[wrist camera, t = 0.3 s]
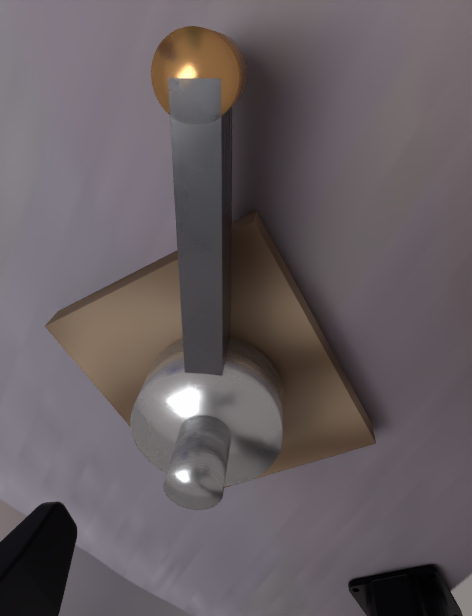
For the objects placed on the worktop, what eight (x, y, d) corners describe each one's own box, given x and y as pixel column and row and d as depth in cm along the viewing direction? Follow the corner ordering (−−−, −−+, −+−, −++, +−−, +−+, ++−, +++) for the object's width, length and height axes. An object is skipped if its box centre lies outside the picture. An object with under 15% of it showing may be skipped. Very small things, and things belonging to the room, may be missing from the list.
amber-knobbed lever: (278, 446, 24) (275, 552, 19) (153, 435, 25) (118, 535, 20) (313, 31, 15) (326, 20, 10) (109, 30, 15) (18, 18, 10)
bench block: (371, 423, 25) (376, 443, 24) (195, 477, 29) (190, 497, 28) (256, 209, 20) (253, 220, 19) (58, 311, 24) (44, 326, 23)
